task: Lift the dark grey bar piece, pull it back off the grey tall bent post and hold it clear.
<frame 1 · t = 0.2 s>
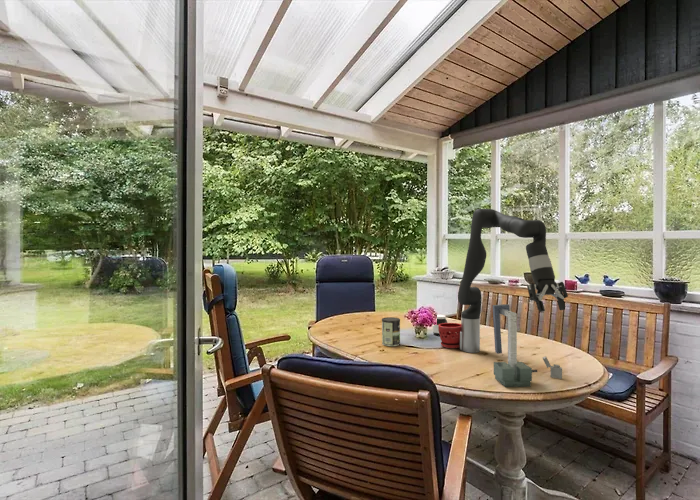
hand: (552, 310, 131), 31 cm above the table, fingers open, 8 cm apart
grey tall bent post: (501, 373, 152), on the table
plant pot: (450, 346, 194), on the table, touching arm
lighter: (552, 377, 148), on the table
dark grey bar piece: (503, 352, 152), point 9 cm above the table, touching grey tall bent post
spread jar: (442, 335, 219), on the table
coffee can: (390, 344, 200), on the table
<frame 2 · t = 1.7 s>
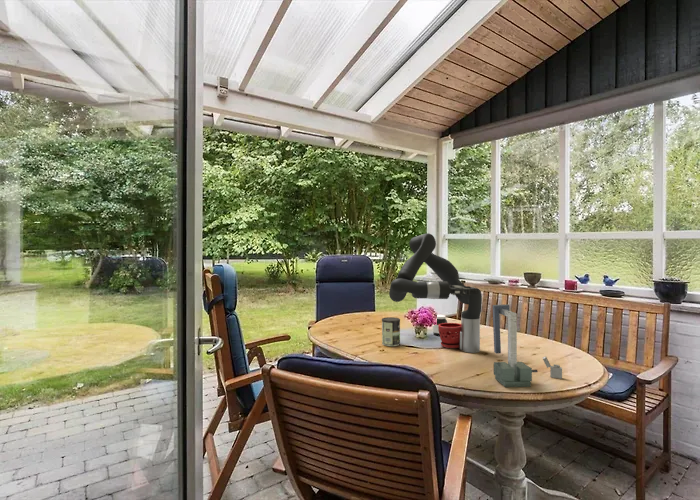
hand: (474, 290, 152), 36 cm above the table, fingers open, 8 cm apart
nothing on the table moved.
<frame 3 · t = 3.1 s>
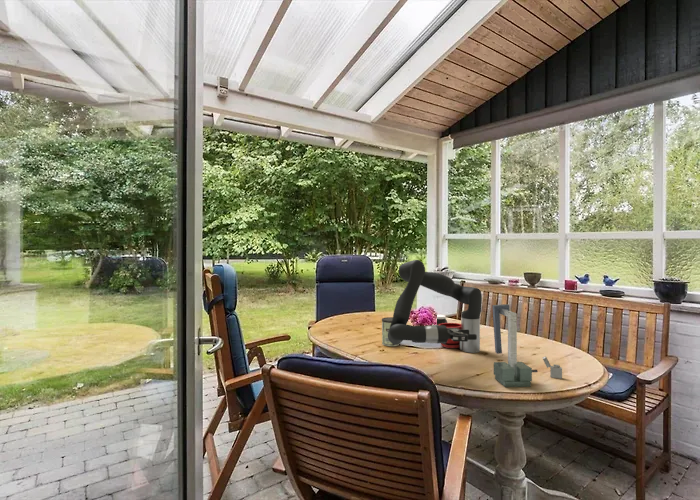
hand: (472, 334, 152), 17 cm above the table, fingers open, 8 cm apart
dark grey bar piece: (503, 352, 152), point 9 cm above the table
everything else where it was.
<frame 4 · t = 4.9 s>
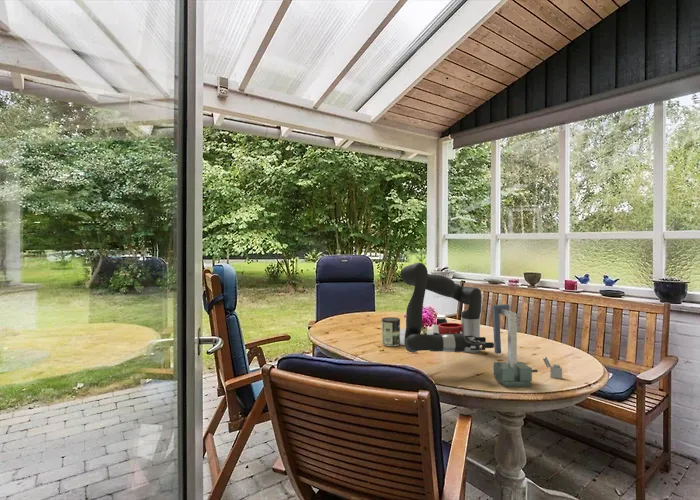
hand: (489, 342, 152), 13 cm above the table, fingers open, 8 cm apart
dark grey bar piece: (502, 352, 152), point 9 cm above the table, touching grey tall bent post
everything else where it was.
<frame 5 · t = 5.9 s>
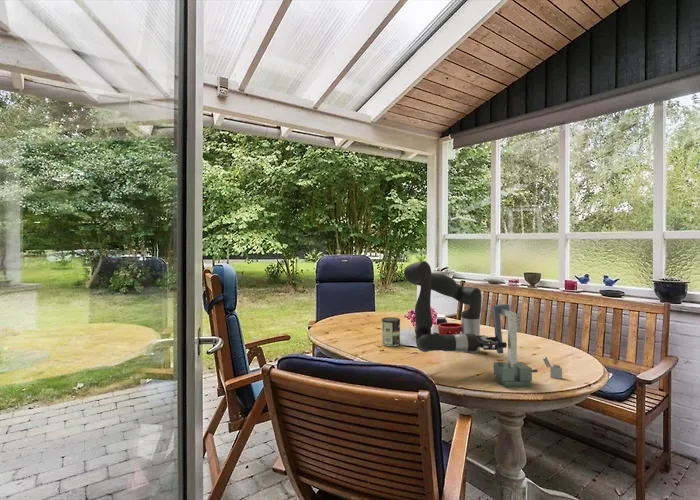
hand: (501, 342, 152), 14 cm above the table, fingers open, 8 cm apart
nothing on the table moved.
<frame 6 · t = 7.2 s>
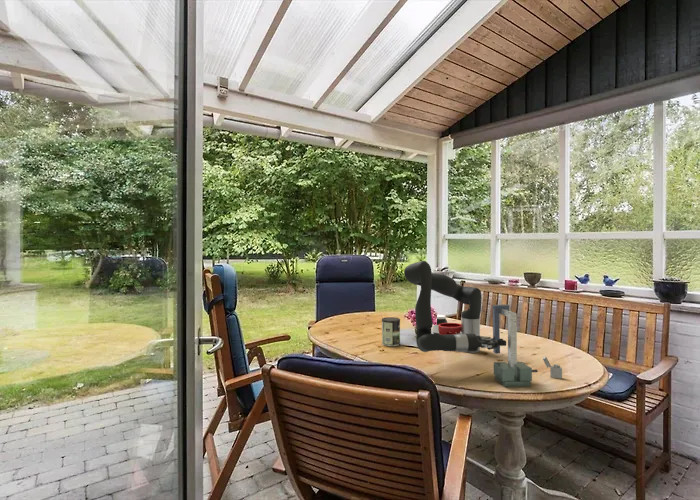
hand: (504, 342, 152), 14 cm above the table, fingers closed on dark grey bar piece, 2 cm apart
dark grey bar piece: (501, 352, 152), point 9 cm above the table, touching gripper, grey tall bent post
everything else where it was.
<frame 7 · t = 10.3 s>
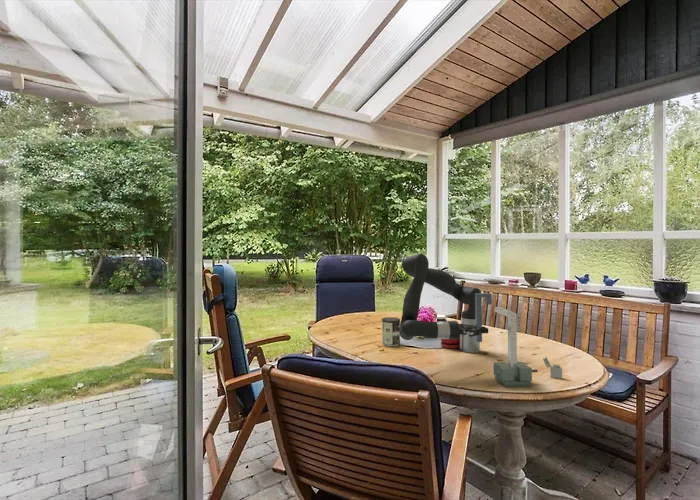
hand: (486, 329, 152), 19 cm above the table, fingers closed on dark grey bar piece
dark grey bar piece: (484, 341, 152), point 14 cm above the table, touching gripper
everything else where it was.
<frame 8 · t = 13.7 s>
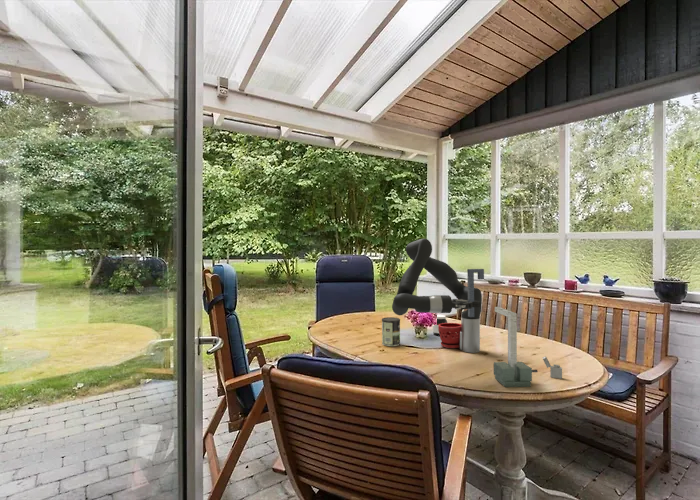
hand: (478, 304, 153), 30 cm above the table, fingers closed on dark grey bar piece
dark grey bar piece: (476, 316, 153), point 25 cm above the table, touching gripper
everything else where it was.
at the end: dark grey bar piece touching gripper; the gripper is holding dark grey bar piece; dark grey bar piece moved 18.6 cm from its start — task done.
